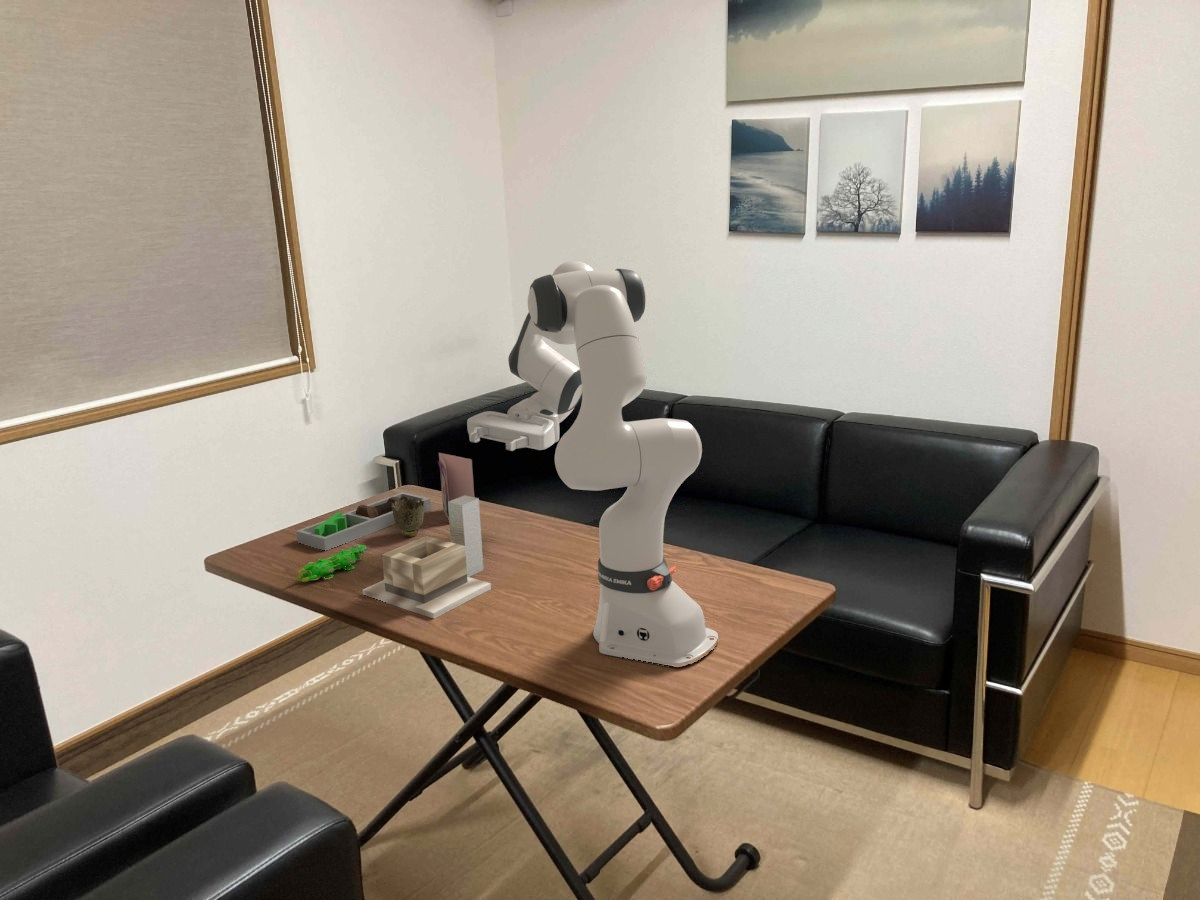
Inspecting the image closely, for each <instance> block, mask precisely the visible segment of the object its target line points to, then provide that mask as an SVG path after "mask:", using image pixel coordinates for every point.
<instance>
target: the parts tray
mask: <svg viewBox="0 0 1200 900" xmlns="http://www.w3.org/2000/svg"><path fill="white" fill-rule="evenodd" d="M390 497H398V498H402V497H407V498H411V499H412V500H413V499H415V501H416V502H419V501H420V499H421V500H422V501H424V513H426V512H428V511H431V509H432V507H431V498H430V497H425V496H421V495H416V494H412V493H407V492H404V491H402V492H400V493H396V494H394V495H391V496H388V497H386V498H383V499H380V500H377V501H375V502H371V503H369V504H365V505H366V506H370V507H374V506H377V505H380V504H383V503H386V502H387V501H388V499H389V498H390ZM356 510H357V508H355V509H352V510H350V511H347V512H344V513H342V517H346V522H347V529H344V530H341V531H339V532H336V533H334V534H331V535H328V536H326V537H324V536H320V535H317V534H315V528H316V527H317V526H319V525H320V524H322V523H323V522H324V521H326V520H327V519H325V520H322V521H319V522H317V523H313V524H312V525H308V526H306V527H303V528H300V529H298V530H296V531H295V532H296V541H297V544H299V543H301V544H300V545H302V544H305V545H304V546H306V545H308V546H307V547H309V546H311V547H310V548H312V547H315V548H314V549H316V548H318V549H317V550H319V549H322V550H325V551H324V552H327V551H326V550H328V551H330V550H332V549H331V548H333V549H335V548H334V547H336V548H337V546H338V547H340V546H339V545H341V546H343V545H346V544H348V543H351V542H353V541H355V539H356V540H357V539H360V538H364V537H366V536H369V535H370V534H373V533H377V532H378V531H380V530H383V529H386V528H389V527H390V526H394V525H396V523H395V519H394V515H393V511H391V512H389V513H386V514H383V515H381V516H378V517H376V518H373V519H372V518H368V517H364V516H360V515H356ZM345 543H346V544H345ZM342 544H343V545H342ZM329 549H330V550H329ZM322 550H321V551H322Z"/></svg>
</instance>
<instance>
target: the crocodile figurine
mask: <svg viewBox="0 0 1200 900" xmlns="http://www.w3.org/2000/svg"><path fill="white" fill-rule="evenodd" d="M367 549H368V548H367V546H366V545H365V544H358V543H356V544H354V545H353V547H351V548H349V549H342V548H341V549H340V551H339V552H338V553H336V554H334V555H332V554H331V555H330V557H327V558H322V559H320V558H317V559H316V562H315V561H309V562H308V563H307V564H306V565H305V566H303V567H301V568H300V569H299V570H298V571H297V573H296V574H298V576H297V577H296V578H295V580H297V581H300V582H303V583H306V582H309V581H317V580H319V579H321V578H322V579H323V578H324V577H325V578H329V577H333V576H334V577H335V575H334V574H333V573H334V572H335V570H341V569H343V570H344V569H346V570H349V569H353V568H355V569H356V567H355V566H354V564H355V563H356V562H357V560H359V561H360V560H363V558H362V557H363V555H364V554H365V551H366V550H367ZM356 559H357V560H356ZM350 564H352V565H350ZM349 565H350V566H349ZM345 566H346V567H345Z"/></svg>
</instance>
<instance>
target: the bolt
mask: <svg viewBox="0 0 1200 900" xmlns="http://www.w3.org/2000/svg"><path fill="white" fill-rule="evenodd" d="M389 497H390V496H389ZM403 499H404V500H405V502H406V500H407V499H408V498H407V497H402V498H398V497H390V498H389V499H388V501H387V502H386V503H383V504H380V505H377V506H374V507H370V506H366V505H367V504H361V505H358V507H356V509H357V510H356V515H360V516H364V517H368V518H372V519H373V518H376V517H378V516H381V515H383V514H386V513H389V512H391V511H393V510H392V506H391V505H392V503H393V504H394V502H395V501H396V502H397V501H398V500H399V501H400V502H401V503H402V500H403Z"/></svg>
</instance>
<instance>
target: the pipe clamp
mask: <svg viewBox="0 0 1200 900" xmlns="http://www.w3.org/2000/svg"><path fill="white" fill-rule="evenodd" d="M342 514H343V512H342V511H341V512H339V511H338V512H335V513H334V514H333V515H332V516H330V517H329V518H327V519H325V520H326V521H325V520H323V521H324V522H323V523H322V524H320V525H319V526H317V527H316V528H315V534H317V535H320V536H324V537H326V536H328V535H331V534H334V533H336V532H339V531H341V530H344V529H347V528H348V526H347V522H346V517H342Z"/></svg>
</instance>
